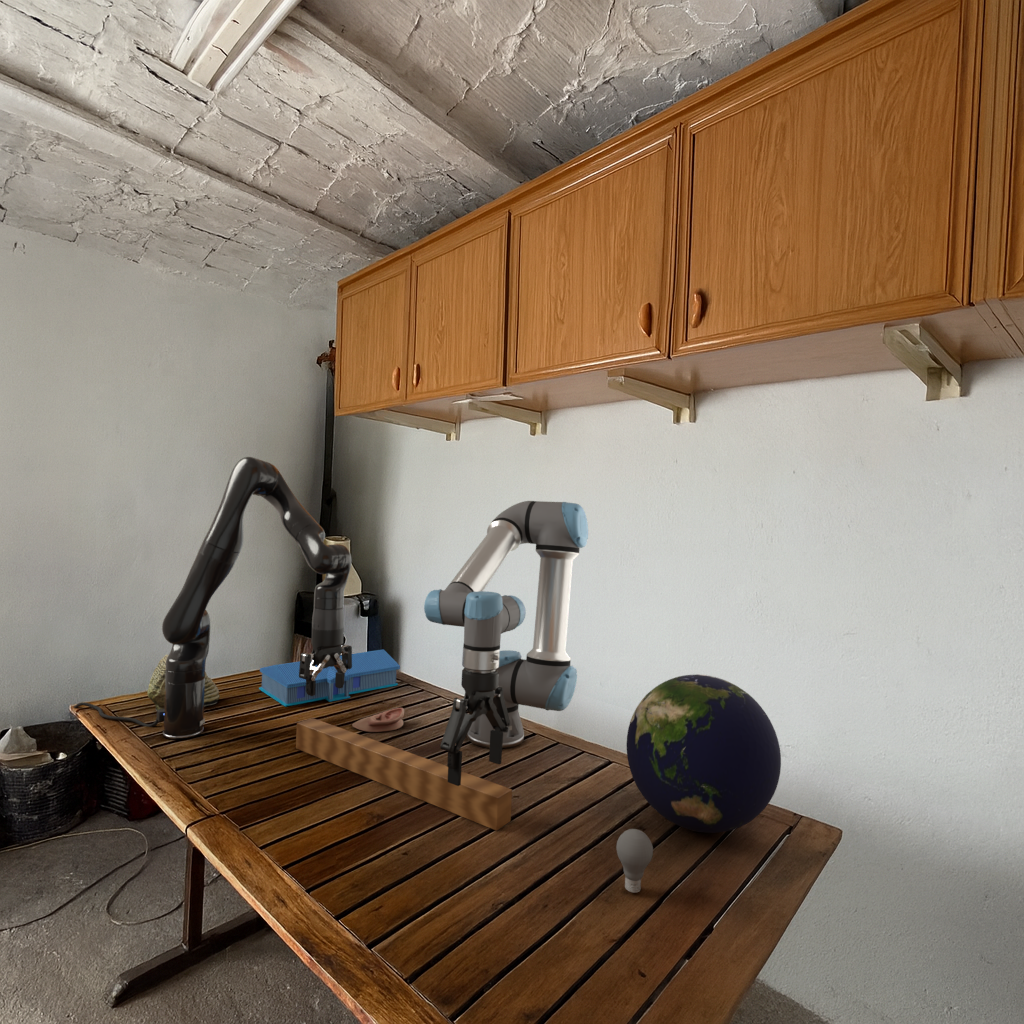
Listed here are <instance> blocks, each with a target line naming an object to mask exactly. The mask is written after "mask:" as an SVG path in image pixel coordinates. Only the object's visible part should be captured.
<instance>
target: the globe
mask: <svg viewBox="0 0 1024 1024" xmlns="http://www.w3.org/2000/svg"><path fill="white" fill-rule="evenodd" d="M627 729H628V730H627V734H626V757H627V763H628V767H629V771H630V773H631V776H632V779H633V781H634V783H635V786H636V787H637V790H638V791H639V793H640V794H641V795H642V797H643V798H644V800H645V801H646V802H647V803H648V804H649V806H651V807H652V809H654V810H655V812H657V813H658V814H659V815H660V816H662V817H663V818H664V819H666V820H667V821H669V822H671V823H673V824H675V825H676V826H678V827H680V828H683V829H686V830H690V831H692V832H696V833H703V834H704V833H705V834H717V833H718V834H719V833H725V832H730V831H733V830H736V829H739V828H741V827H744V826H745V825H747V824H749V823H750V822H752V821H753V820H754V819H756V818H757V817H758V816H760V814H761V813H762V812H763V811H764V810H765V809H766V808H767V806H768V805H769V803H770V802H771V800H772V799H773V798H774V795H775V793H776V791H777V788H778V785H779V781H780V775H781V770H782V769H781V768H782V757H781V756H782V755H781V748H780V742H779V739H778V735H777V732H776V730H775V728H774V725H773V723H772V721H771V719H770V718H769V716H768V714H767V713H766V711H765V710H764V709H763V707H762V706H761V704H759V702H757V700H755V698H754V697H753V696H752V695H750V694H749V693H748V692H746V691H745V690H744V689H742V688H741V687H739V686H737V684H734V683H731V682H729V681H728V680H726V679H723V678H721V677H716V676H712V675H708V674H702V673H700V674H697V673H696V674H685V675H679V676H676V677H673V678H672V677H671V678H670V679H667V680H665V681H663V682H662V683H659V684H658V685H656V686H655V687H654V688H652V689H651V690H650V691H649V692H647V693H646V694H645V695H644V697H643V698H642V699H641V701H640V702H638V705H637V706H636V708H635V709H634V712H633V714H632V716H631V718H630V721H629V725H628V728H627Z"/></svg>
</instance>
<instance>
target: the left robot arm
mask: <svg viewBox="0 0 1024 1024" xmlns="http://www.w3.org/2000/svg"><path fill="white" fill-rule="evenodd" d="M253 495H254V496H257V497H261V498H263V499H264V500H265V501H267V502H268V503H269V504H270V505H272V506H273V507H274V509H275V510H276V511H277V513H278V516H279V519H280V522H281V524H282V526H283V528H284V530H285V531H286V532H287V534H288V535H289V537H290V538H292V540H293V541H294V542H295V543H296V544H297V546H299V548H300V550H301V553H302V555H303V557H304V559H305V561H306V564H307V565H308V566H309V568H310V569H311V570H312V571H314V572H315V573H317V574H319V575H325V577H324V580H323V581H322V582H320V583H318V584H317V585H316V586H315V588H314V594H313V612H312V617H311V619H312V620H311V646H312V650H311V652H309V653H308V652H307V653H306V652H301V653H300V655H299V657H300V658H299V661H300V667H299V678H302V679H306V693H307V694H308V695H310V696H314V695H315V687H316V680H315V679H316V677H317V675H318V674H319V673H320V672H321V671H322V669H323V668H327V667H333V666H334V667H335V669H336V670H337V672H336V678H335V686H336V687H337V688H343V685H344V680H345V672H346V670H348V669H351V668H352V654H353V647H352V645H349V644H346V643H345V644H344V629H345V628H344V627H345V610H344V603H345V589H346V586H347V583H348V579H349V575H350V572H351V569H352V554H351V551H350V550H349V549H348V547H347V546H346V545H344V544H341V543H336V544H335V543H334V544H325V543H324V541H325V539H326V533H325V529H324V528H323V527H322V526H321V524H319V523H318V522H317V521H316V520H315V518H314V517H313V516H312V515H311V513H309V512H308V510H307V509H306V508H305V507H304V506H303V504H302V503H301V502H300V501H299V500H298V498H297V497H296V496H295V493H294V492H293V491H292V490H291V488H290V487H289V485H288V483H287V482H286V480H285V479H284V476H283V475H282V474H281V471H280V470H279V469H278V467H276V466H275V465H274V464H273V463H270V462H268V461H265V460H262V459H260V458H256V457H253V456H245V457H242V458H240V459H239V460H238V461H237V462H236V464H235V465H234V466H233V468H232V470H231V473H230V475H229V478H228V480H227V483H226V485H225V489H224V493H223V495H222V498H221V501H220V503H219V506H218V508H217V510H216V512H215V514H214V517H213V520H212V522H211V525H210V527H209V528H208V531H207V532H206V535H205V536H204V538H203V539H202V543H201V544H200V546H199V549H198V552H197V554H196V556H195V558H194V561H193V563H192V564H191V567H190V569H189V572H188V574H187V576H186V578H185V582H184V584H183V586H182V588H181V590H180V592H179V593H178V595H177V596H176V599H174V602H173V603H172V605H171V607H170V608H169V610H168V612H167V613H166V615H165V616H164V619H163V620H162V624H161V625H162V626H161V630H162V635H163V637H164V639H165V640H166V642H168V643H169V644H171V645H172V646H171V650H170V652H169V654H167V655H168V657H167V659H166V674H165V705H164V709H159V710H156V717H155V721H154V722H152V723H145V722H143V721H141V720H139V719H137V718H133V717H125V716H116V715H115V716H113V715H110V714H109V715H108V714H105V713H104V711H103V709H102V708H101V707H99V706H97V705H94V704H92V703H90V702H85V701H83V702H82V701H81V702H78V703H76V704H75V705H74V706H73V709H78V708H79V707H82V706H83V707H87V708H90V709H92V710H96V711H97V712H98V713H99V716H100V717H101V718H103V719H107V720H113V721H126V722H132V723H135V724H137V725H139V726H143V727H149V728H153V727H155V726H157V725H158V724H159V723H160V722H163V731H162V737H164V738H166V739H169V740H185V739H190V738H191V739H192V738H194V737H197V736H199V735H202V734H203V732H204V730H205V729H204V724H205V723H206V717H205V706H204V693H205V672H206V664H207V663H206V662H207V658H208V655H209V651H210V639H211V617H210V613H209V612H208V611H207V610H206V609H207V607H208V606H209V605H208V604H209V603H210V600H211V599H212V597H213V596H214V594H215V593H216V592H217V590H218V589H219V587H220V586H221V585H222V584H223V582H224V581H225V580H226V578H227V577H228V576H229V574H230V572H231V571H232V570H233V568H234V566H235V564H236V562H237V560H238V557H239V555H240V553H241V551H242V549H243V546H244V540H245V539H244V537H245V535H244V534H245V533H244V532H245V531H244V516H245V511H246V509H247V506H248V504H249V502H250V499H252V496H253ZM341 655H342V660H341V659H340V656H341ZM312 660H313V661H312ZM316 665H317V666H318V667H315V666H316ZM312 673H313V674H312Z"/></svg>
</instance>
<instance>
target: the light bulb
mask: <svg viewBox="0 0 1024 1024" xmlns="http://www.w3.org/2000/svg"><path fill="white" fill-rule="evenodd" d="M615 849H616V854H617V857H618V859H619V861H620V863H621V865H622V867H623V873H624V874H623V875H624V876H625V878H624V888H625V890H627V891H628V892H630V893H634V894H635V893H639V892H640V891H641V889H642V887H641V886H642V879H643V877H644V875H645V871H646V868H647V867H648V866H649V864H650V863H651V861H652V859H653V855H654V847H653V843H652V841H651V838H649V836H648V835H647V834H646V833H645V832H643V831H642V830H641V829H636V828H629V829H627V830H625V831H623V832H622V833H621V834H620V835H619V837H618V839H617V841H616V847H615Z"/></svg>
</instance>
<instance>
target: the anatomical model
mask: <svg viewBox="0 0 1024 1024" xmlns="http://www.w3.org/2000/svg"><path fill="white" fill-rule="evenodd" d="M404 715H405V709H404V708H403V707H396V708H392V709H389V710H385V711H382V712H379V713H376V714H374V715H371V716H366V717H363V718H361V719H359V720H357V721H355V722H353V723H352V725H351V726H352V728H354V729H357V730H359V731H363V732H367V733H377V732H378V733H379V732H389V731H394V730H397V729H400V728H402V727H403V726H404V720H403V719H402V718H403V717H405V716H404Z"/></svg>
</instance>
